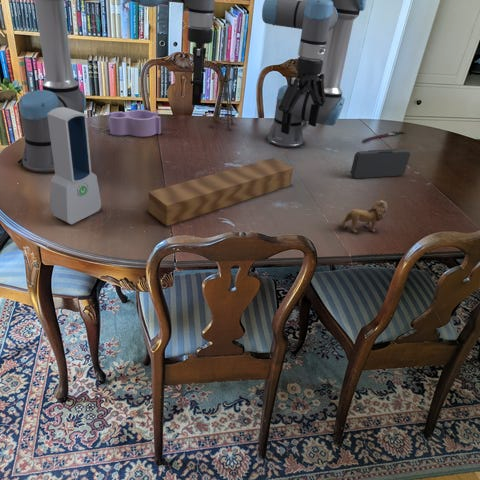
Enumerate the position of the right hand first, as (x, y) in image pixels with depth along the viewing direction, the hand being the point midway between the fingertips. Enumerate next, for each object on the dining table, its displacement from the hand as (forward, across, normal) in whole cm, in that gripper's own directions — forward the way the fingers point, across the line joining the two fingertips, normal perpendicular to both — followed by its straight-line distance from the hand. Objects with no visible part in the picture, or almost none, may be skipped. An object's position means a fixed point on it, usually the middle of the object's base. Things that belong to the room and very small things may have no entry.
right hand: (298, 129), depth 146 cm
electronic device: (+22, -63, +28) cm, 72 cm away
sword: (+22, +81, +10) cm, 85 cm away
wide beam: (+22, -20, +10) cm, 32 cm away
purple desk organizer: (+22, -11, +74) cm, 78 cm away
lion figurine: (+22, 0, -29) cm, 37 cm away
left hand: (-4, -16, +30) cm, 34 cm away
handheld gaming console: (+22, +39, -11) cm, 47 cm away
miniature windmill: (+22, +26, +60) cm, 69 cm away
